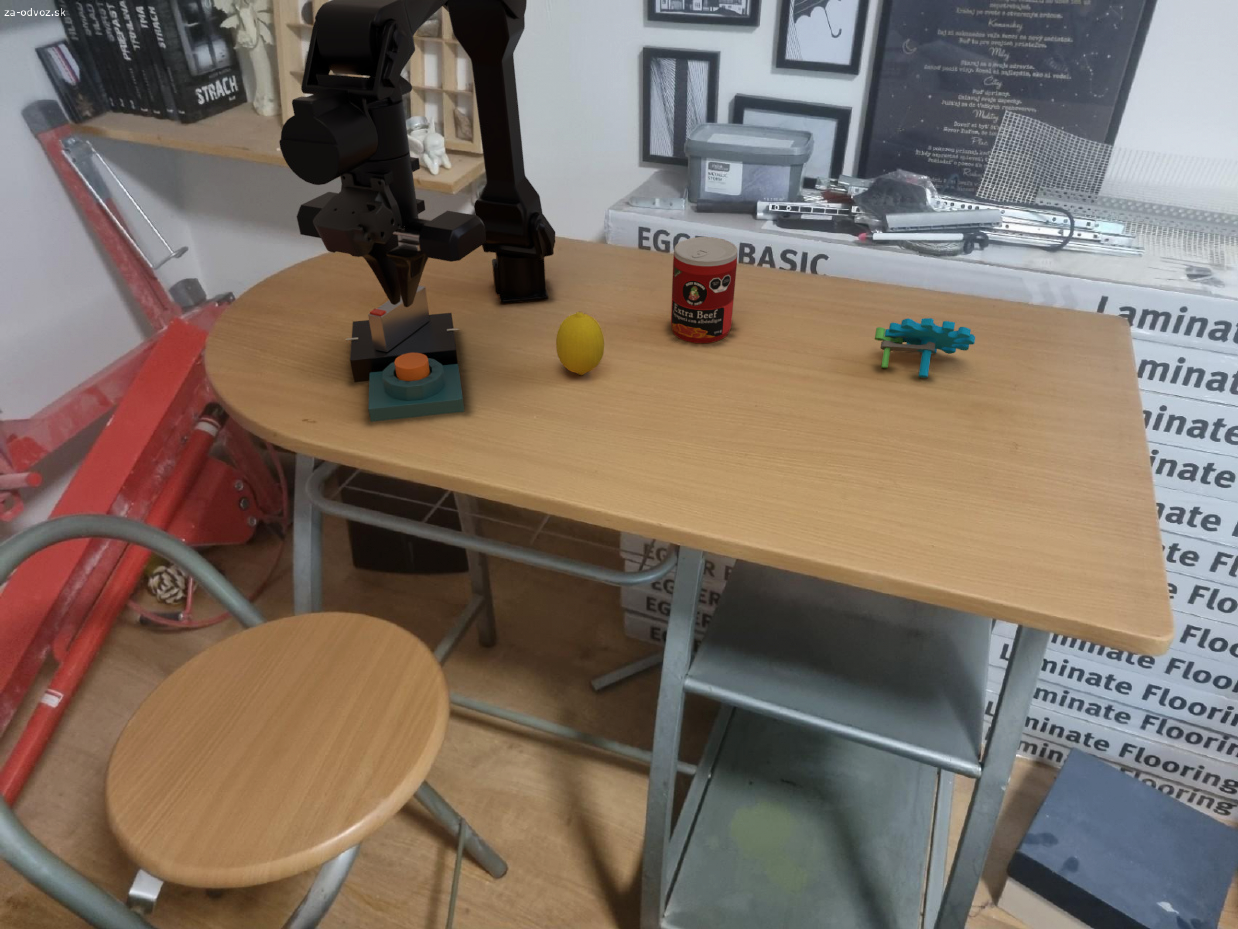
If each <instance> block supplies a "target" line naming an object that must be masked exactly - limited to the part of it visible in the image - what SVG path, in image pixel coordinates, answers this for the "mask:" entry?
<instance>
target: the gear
mask: <svg viewBox="0 0 1238 929" xmlns="http://www.w3.org/2000/svg"><path fill="white" fill-rule="evenodd" d="M934 321H935V319H934V318H932V317H925V318H921V321H920V323H919V322H917V321H915V320H913V319H912V318H904V319H902V320H901V323H898V322H890V323H889V327H888V328H884V327H880V326H879V327H876V328H875V335H874V340H875V341H877V342H880V347H879V348H880V349H881V350H882V351H883V352H882V360H881V366H880V367H881V368H882V369H888V368H889V361H890V355H891V352H900V353H901V352H902V353H913V354H915V353H916V354H921V356H920V363H919V368H918V369H919V370H918V377H919V378H922V379H927V378H928V377H929V370H930V364H931V359H932V358H931V357H932V355H935V354H937V352H938V350H939V351H941V352H944V353H945V354H948V355H950V354H955V353H956V352H957V350H960V351H963V352H965V351H966V352H967V351H968V350H969V349H970V346H972V345H975V343H976V335H975V334H973V333H971V330H972V329H971V328H968V327H966V326H960V327H958V329H957V330H955V326H956V322H954V321H950V320H943V321H942V326H940V325H937V324H936V323H935V322H934Z"/></svg>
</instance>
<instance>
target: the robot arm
mask: <svg viewBox="0 0 1238 929" xmlns="http://www.w3.org/2000/svg"><path fill="white" fill-rule="evenodd" d="M527 1H528V0H329V1H326V2H324V3H323V4H321V6H320V7H319V9H317V12H316V14H315V16H314V22H313V25H312V28H311V29H312V30H311V36H310V40H309V44H308V50H307V54H306V55H307V56H306V61H305V66H304V71H303V76H302V82H301V86H300V90H301V93H302V94H306V95H307V96H299V97H296V98H294V99H292V101H291V106H292V110H293V115H292V116H291V117H289V118H288V119H286V121H285V122H284V124H283V126H282V128H281V131H280V140H279V141H278V143H279V149H280V151H281V154H282V157H283V159H284V161H285V163H286V165H287V166H288V167H289V169H290V170H291V171H292V172H293V173H294V174H295V175H296V176H297V177H298V178H299V179H301V180H303V181H304V182H306V183H308V184H311V185H315V186H323V185H327V184H329V183H330V182H332V181H335V180H336V179H338V178H340V181H341V183H340V184H341V185H340V186H341V187H340V191H339V192H332V191H327V192H325V193H323V194H320V195H319V196H316V197H314V198H312V199H310V200H308V201H306V202H304V203H302V204H300V205H299V208H298V211H297V214H296V222H297V226H298V230H299V234H300V235H301V236H306V237H312V238H318V239H320V240H321V241H322V244H323V245H324V247H325V249H326V251H327V252H329V253H334V254H335V253H336V252H337V253H342V254H347V255H350V256H351V257H355V258H361V257H362V258H363V259H364V260H365V261H366V263H367V265H368V266H369V267H370V269H371V271H372V273H373V274H374V276H375V277H376V279H377V281H378V283H379V284H380V287H381V288H382V290H383V291H384V293H385V295H386V297H387V299H388V301H389V300H390V302H391V304H393V305H396V304H397V303H399V302H400V298H402V301H403V304H404V307H409V306H411V305H412V304H413V301H414V298H415V295H416V292H417V289H418V286H419V285H420V283H421V279H422V276H423V273H424V270H425V267H426V264H427V262H428V260H429V259H434V260H440V261H445V262H452V263H453V262H459V261H461V260H462V259H464V258H465V257H467V256H468V255H470V254H471V253H473V252H474V251H475V250H478V249H479V248H480V247H482V251H483V253H494V254H495V258H492V260H491V266H492V278H493V279H492V280H493V289H494V292H495V294H496V295H498V297H499V299H500V300H499V301H500V303H501V304H513V303H514V304H515V303H523V302H534V301H545V300H548V299H549V293H548V290H547V287H546V286H547V285H546V267H545V257H550V256H551V257H552V256H553V255H554V254H555V253H554V249H555V244H556V231H555V229H554V228H553V226H552V225H551V223H550V222H549V221H548V219H547V217H546V216H545V214H543V213H544V212H543V209H542V202H541V196H540V194H539V192H538V191H537V190H536V189H535V187H534V186H533V184H532V183H531V182H530V180H529V179H528V177H527V176H526V172H525V161H524V150H523V141H522V131H521V130H522V129H521V120H520V110H519V100H518V91H517V80H516V69H515V60H514V59H515V58H514V57H515V56H514V53H515V50H516V48H517V46H518V44H519V42H520V40H521V37H522V35H523V32H524V31H525V29H526V28H525V27H526V23H525V21H526V20H525V15H526V10H527ZM442 7H443V9H445V10H446V11H447V12H448V16H449V21H450V25H451V29H452V30H451V31H452V34H453V36H454V38H455V39H456V41H457V42H458V43H459V45H460V46H461V47H462V49H463V51H464V52H465V53H466V55H467V56H468V57H469V59H470V62H471V70H472V77H473V86H474V93H475V101H476V102H475V103H476V109H477V116H478V118H477V119H478V124H479V132H480V140H481V148H482V149H481V150H482V156H483V164H484V172H485V180H486V181H485V185H484V187H483V189H482V192H481V194H480V195H479V197H478V199H476V200H475V202H474V204H473V205H474V206H473V208H474V213H475V214H471V213H464V212H459V211H452V210H446V211H444V212H443V213H440V214H439V215H437V216H436V217H434V218H433V219H431V218H424V217H419V214H421V213H423V212H425V211H426V203H425V202H426V201H425V199H420V198H417V196H416V188H415V187H416V186H415V180H414V173H415V172H417V171H419V170H420V169H421V164H420V158H419V157H414V156H413V157H412V156H411V151H410V150H411V149H410V143H409V136H408V128H407V120H406V114H405V113H406V112H405V106H404V99H403V98H404V97H403V96H404V95H407V94H409V93H411V92H412V90H413V85H412V84H411V82H409V80H407V79H406V78H404V77H403V76H402V73H403V70H404V69H405V67H406V65H407V64H408V63H409V61H410V59H411V58H412V56H413V55H414V53H415V52H416V44H415V40H414V39H415V38H414V37H415V34H416V33H417V31H419V29H420V28H421V27H423V25H424V24H425V23H427V21H429V20H430V19H431V17H433V16H434V15H435V14H436V13H437V12H438V11H439V10H440V9H441V8H442ZM330 73H333V74H330Z"/></svg>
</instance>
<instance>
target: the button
mask: <svg viewBox="0 0 1238 929" xmlns="http://www.w3.org/2000/svg"><path fill="white" fill-rule="evenodd" d="M394 363H395V369H396V375H397V378H398V379H399V380H403V381H415V380H420V379H423V378H426V377H428V376H429V374H430V370H429V363H428V358H427V356H426V355H424V354H421V353H407V354H403V355H401V356H399V357H397V358H396V359H395V362H394Z"/></svg>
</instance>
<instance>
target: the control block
mask: <svg viewBox="0 0 1238 929" xmlns="http://www.w3.org/2000/svg"><path fill="white" fill-rule="evenodd" d="M428 363H429V370H430V374H429V376H428V377H426V378H423V379H420V380H415V381H403V380H399V379H398V378H397V375H396V369H395V363H394V362H393V363H391V364H390V365H388V366H387V367H386V368H385V369H384V370H383V371H381V372H371V373H370V378H369V381H368V382H369V383H368V386H369V387H368V409H367V410H368V414H369V415H368V416H369V418H370V422H371V423H373V422H383V421H392V420H402V419H410V418H418V417H419V418H421V417H428V416H429V417H430V416H438V415H447V414H456V413H457V414H458V413H464V412H465V406H464V397H463V390H462V382H461V376H460V374H461V373H460V367H459V363H458V364H452V365H442V364H440V363H439V362H437V361H436V360H434V359H430V358H428Z"/></svg>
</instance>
